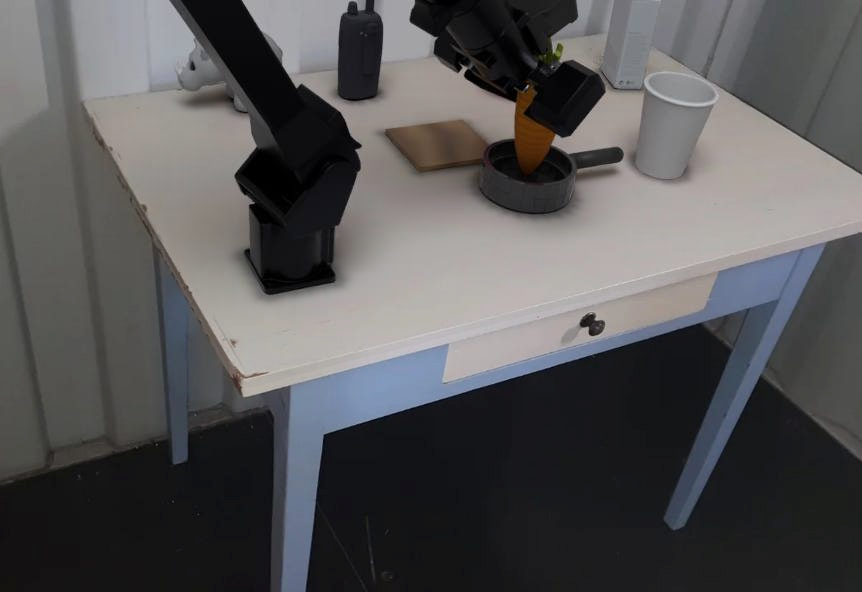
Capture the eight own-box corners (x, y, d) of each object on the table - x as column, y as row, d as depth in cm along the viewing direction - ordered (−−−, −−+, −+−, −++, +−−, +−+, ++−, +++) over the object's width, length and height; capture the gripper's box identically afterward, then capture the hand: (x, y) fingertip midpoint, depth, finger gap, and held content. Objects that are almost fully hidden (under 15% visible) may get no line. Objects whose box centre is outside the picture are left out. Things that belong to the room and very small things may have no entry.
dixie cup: (640, 142, 112) (661, 64, 106) (704, 166, 109) (729, 87, 103) (612, 167, 106) (632, 85, 100) (679, 193, 103) (704, 111, 97)
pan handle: (567, 174, 100) (570, 159, 99) (558, 166, 101) (561, 151, 100) (625, 164, 103) (628, 150, 102) (615, 157, 104) (619, 142, 103)
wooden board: (419, 172, 99) (419, 167, 99) (384, 133, 105) (385, 128, 105) (499, 160, 104) (499, 155, 103) (461, 123, 110) (462, 119, 109)
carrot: (545, 191, 96) (574, 52, 87) (499, 180, 96) (523, 41, 87) (552, 169, 100) (580, 35, 91) (507, 159, 100) (531, 24, 91)
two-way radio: (370, 85, 114) (378, -38, 105) (389, 100, 112) (399, -25, 102) (331, 92, 111) (335, -35, 102) (349, 107, 109) (355, -21, 100)
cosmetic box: (642, 90, 125) (665, 1, 117) (611, 89, 123) (633, -1, 116) (627, 70, 129) (648, -17, 122) (597, 69, 128) (616, -19, 120)
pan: (508, 221, 94) (513, 191, 92) (462, 173, 100) (466, 144, 98) (588, 206, 98) (595, 177, 96) (539, 161, 105) (545, 133, 103)
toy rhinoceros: (169, 94, 106) (163, 21, 100) (272, 86, 111) (271, 16, 105) (184, 122, 101) (178, 47, 96) (291, 113, 106) (291, 41, 101)
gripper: (616, -14, 76) (665, 88, 89) (471, -82, 86) (535, 19, 99) (531, 91, 77) (593, 178, 90) (397, 11, 87) (470, 100, 100)
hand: (547, 113), depth 95 cm, fingers closed on carrot, 5 cm apart
